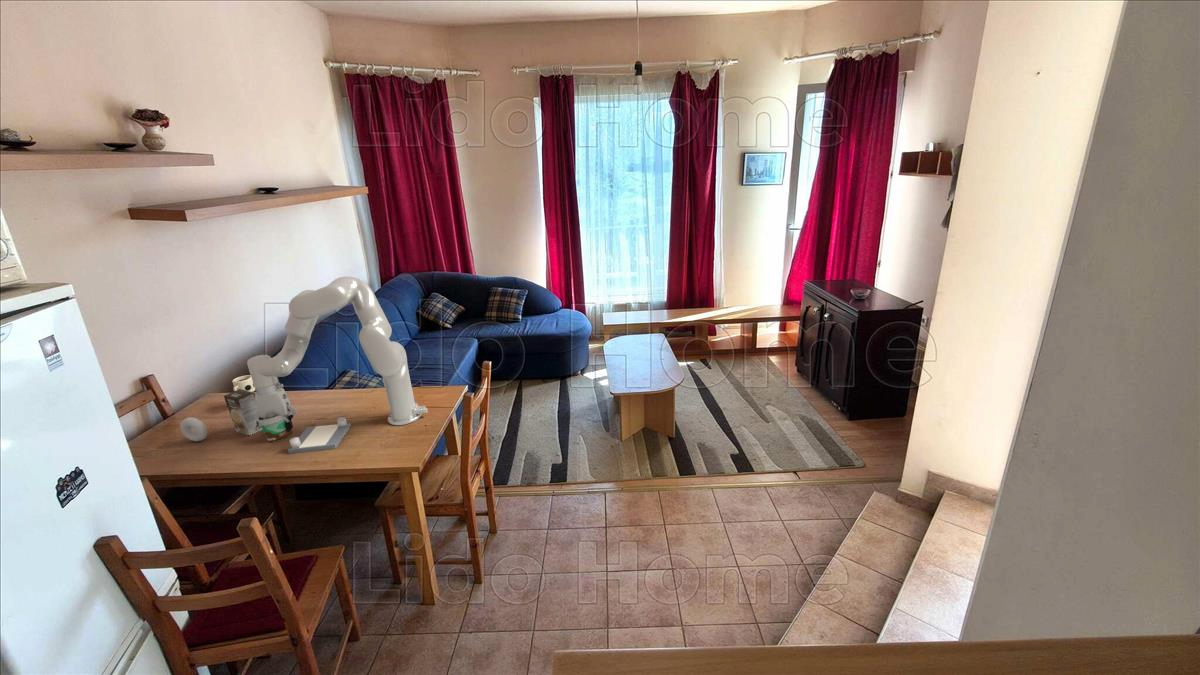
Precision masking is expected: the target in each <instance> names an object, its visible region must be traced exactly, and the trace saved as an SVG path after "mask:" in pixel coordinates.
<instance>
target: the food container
mask: <svg viewBox="0 0 1200 675" xmlns="http://www.w3.org/2000/svg"><path fill="white" fill-rule="evenodd" d="M288 413H289V414H290V415H291V414H292V412H291V411H288ZM286 416H287V418H288V416H289V415H288V414H287V415H286ZM284 419H285V418H284V416H280V415H278V416H276V417H271V418H265V419H264V420H259V422H258V423H259V426H261V427H262V429H263V430H262V431H263V434H264V435H265V438H266V440H267V441H268V443H274V442H273V441H276V442H279V441H278V440H280V441H282V439H283V440H284V438H285V439H287V438H289V437H290V436H291V435H292V434H293V432H292V431H293V429H292V430H291V431H290V432H287V430H286V426H285V422H286V421H285V420H284ZM288 436H289V437H288ZM286 437H287V438H286Z"/></svg>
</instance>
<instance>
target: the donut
mask: <svg viewBox="0 0 1200 675" xmlns="http://www.w3.org/2000/svg"><path fill="white" fill-rule="evenodd" d="M180 432H181V433H182V435H183V436H184V437H185V438H186V439H187V440H190V441H191V442H201V441H203V440H205V439H206V437H207V436H208V428H207V426H206V425H205V423H204V422H203V421H201V419H199V418H196V417H191V416H190V417H186V418H185V419H183V420H182V421H181V422H180Z"/></svg>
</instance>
